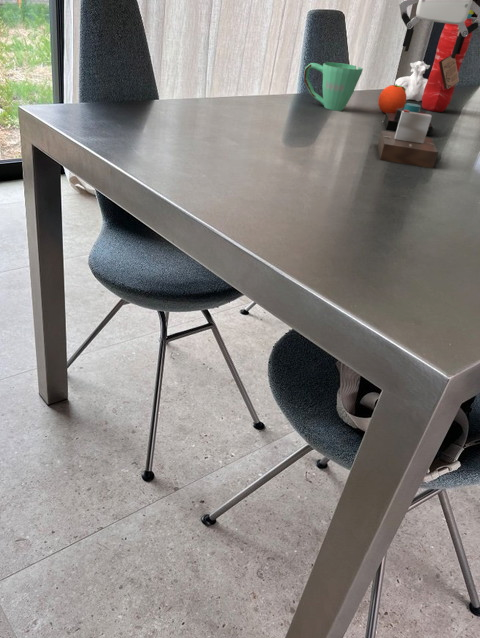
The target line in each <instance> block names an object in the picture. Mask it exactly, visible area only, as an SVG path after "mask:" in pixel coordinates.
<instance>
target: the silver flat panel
mask: <svg viewBox="0 0 480 638" xmlns="http://www.w3.org/2000/svg"><path fill="white" fill-rule="evenodd" d="M431 120H432V114H428V113H425V114H422V113H415V112H409V110H403V111H402V113H401V116H400V120H399V123H398V127H397V130H396V131H395V133H396V134H395V139H396V140H403V141H409V142H416V143H422V144H423V143H424V140H425V137H427V136H426V134H427V131H428V127H429V124H430V123H431Z"/></svg>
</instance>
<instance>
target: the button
mask: <svg viewBox="0 0 480 638" xmlns="http://www.w3.org/2000/svg"><path fill="white" fill-rule="evenodd" d="M403 108H404V110H409V112H415V113H419V111H421V108H422V105H420V104H417V103H413V102H412V103H411V102H405V105H404V107H403Z"/></svg>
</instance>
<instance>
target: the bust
mask: <svg viewBox="0 0 480 638" xmlns="http://www.w3.org/2000/svg"><path fill="white" fill-rule="evenodd" d="M409 67H411V69H410V73H412V74H411V75H409V76H408V75H406V76H402V77H399V78H397V79H396V80H395V81H394V85H396V84H397V85H398V86H402V87H404V88H405V93H406V101H407V100H408V101H409V100H410V101H416V102H422V96H423V93H424V89H425V86H426V84H427V81H428V78H425V77H424V75H423V74H425V72H426V70H429V69H430V68H431V65H430V64H426V62H425V61H423V60H422V61H421V60H417V61H415V62H410V63H409Z"/></svg>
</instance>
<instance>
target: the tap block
mask: <svg viewBox="0 0 480 638" xmlns="http://www.w3.org/2000/svg"><path fill="white" fill-rule="evenodd" d="M395 134H396V132H395V131H389V130H381V132H380V136H379V139H378V143H377V149H378V155H379V160H380V161H385V162H391V163H397V164H403V165H409V166H417V167H422V168H428V169H434V167H435V163H436V160H437V157H438V155H439V152H438V149H437V147H436V145H435V143H434V141H433V139H432V137H428V136H426V137H425V140H424V143H423V144H422V143H416V142H409V141H403V140H396V139H395Z"/></svg>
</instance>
